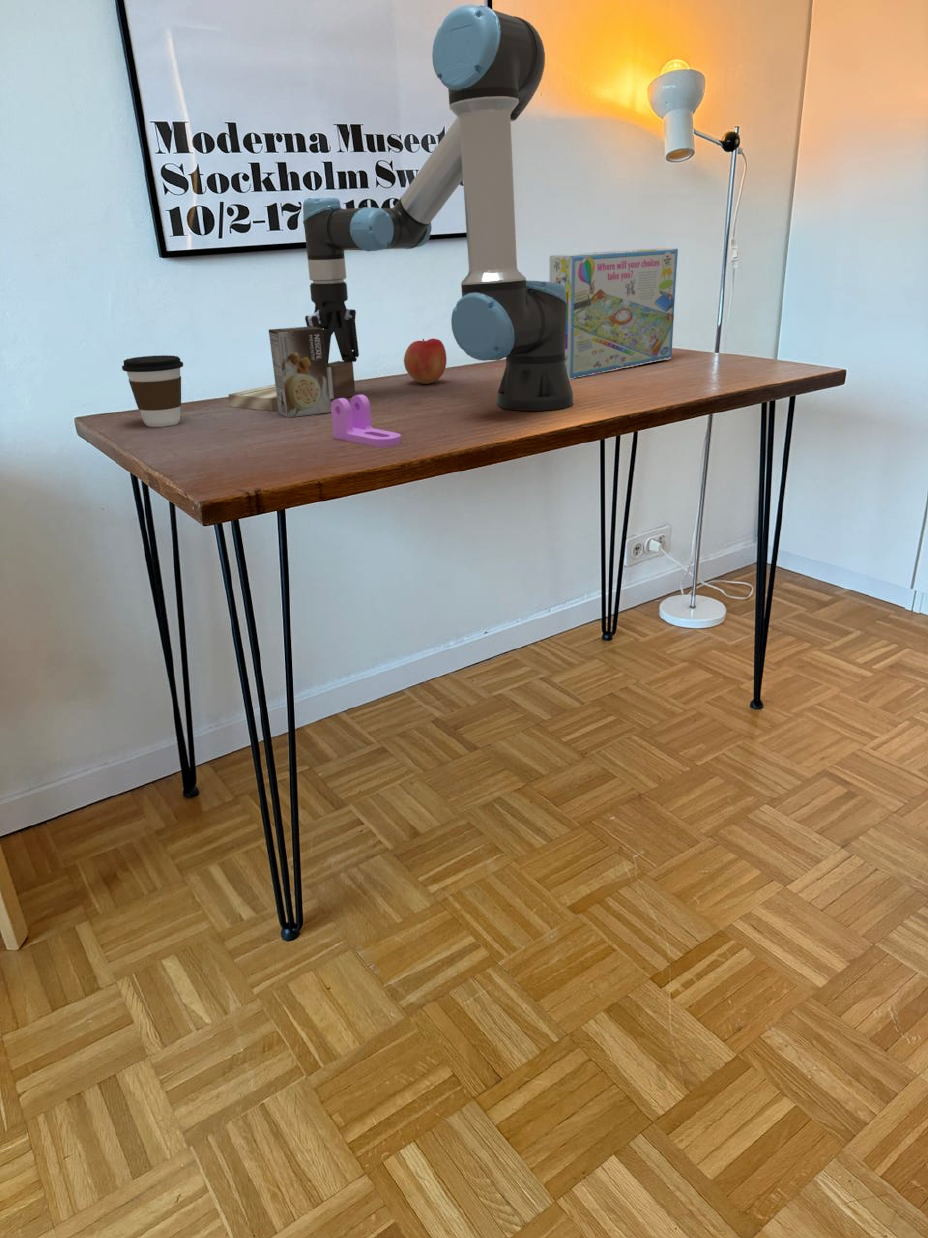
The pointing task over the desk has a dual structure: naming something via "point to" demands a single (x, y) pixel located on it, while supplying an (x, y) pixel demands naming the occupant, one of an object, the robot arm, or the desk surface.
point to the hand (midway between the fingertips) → (338, 395)
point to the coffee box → (300, 371)
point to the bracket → (359, 423)
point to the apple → (425, 360)
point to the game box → (616, 307)
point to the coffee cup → (156, 388)
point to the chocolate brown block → (342, 379)
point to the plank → (256, 399)
